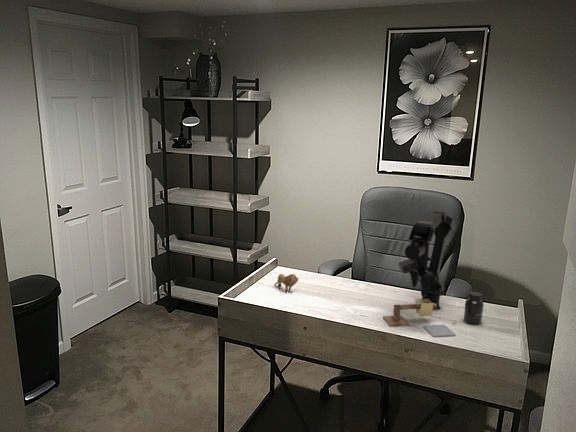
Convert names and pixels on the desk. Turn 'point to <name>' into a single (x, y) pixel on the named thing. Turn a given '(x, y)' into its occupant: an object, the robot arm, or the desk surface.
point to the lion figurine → (287, 281)
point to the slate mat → (439, 330)
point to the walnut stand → (399, 319)
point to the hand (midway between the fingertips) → (418, 291)
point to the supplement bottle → (473, 309)
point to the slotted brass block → (424, 307)
